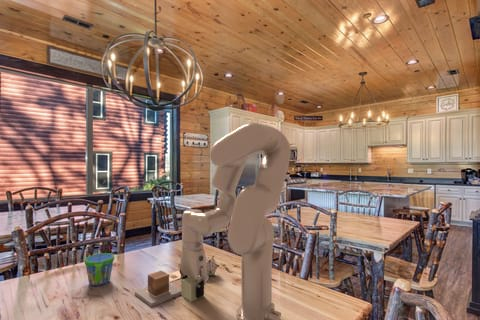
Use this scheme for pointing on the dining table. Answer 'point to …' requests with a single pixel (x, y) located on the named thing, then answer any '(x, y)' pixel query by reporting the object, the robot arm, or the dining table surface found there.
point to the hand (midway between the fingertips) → (192, 292)
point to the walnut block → (158, 283)
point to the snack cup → (99, 268)
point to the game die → (211, 266)
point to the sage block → (189, 288)
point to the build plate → (156, 300)
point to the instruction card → (174, 276)
